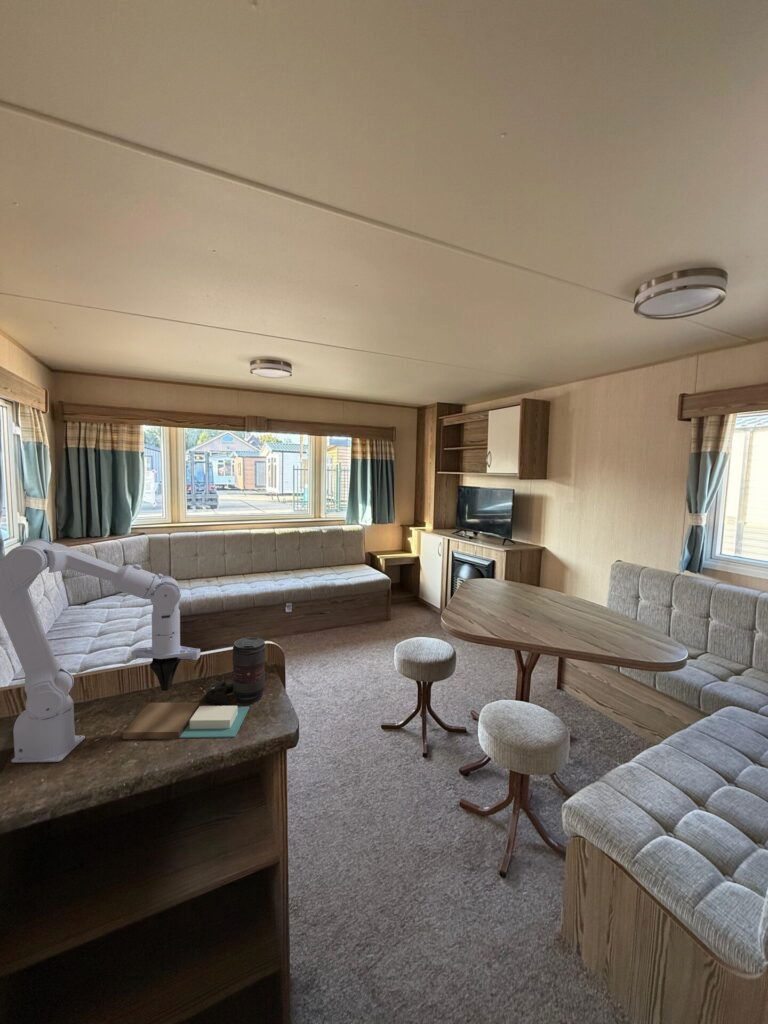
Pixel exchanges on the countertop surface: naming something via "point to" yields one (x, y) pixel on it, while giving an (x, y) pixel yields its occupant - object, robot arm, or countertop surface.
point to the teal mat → (217, 733)
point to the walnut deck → (161, 721)
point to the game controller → (219, 693)
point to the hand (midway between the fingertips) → (166, 688)
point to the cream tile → (213, 717)
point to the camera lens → (248, 669)
